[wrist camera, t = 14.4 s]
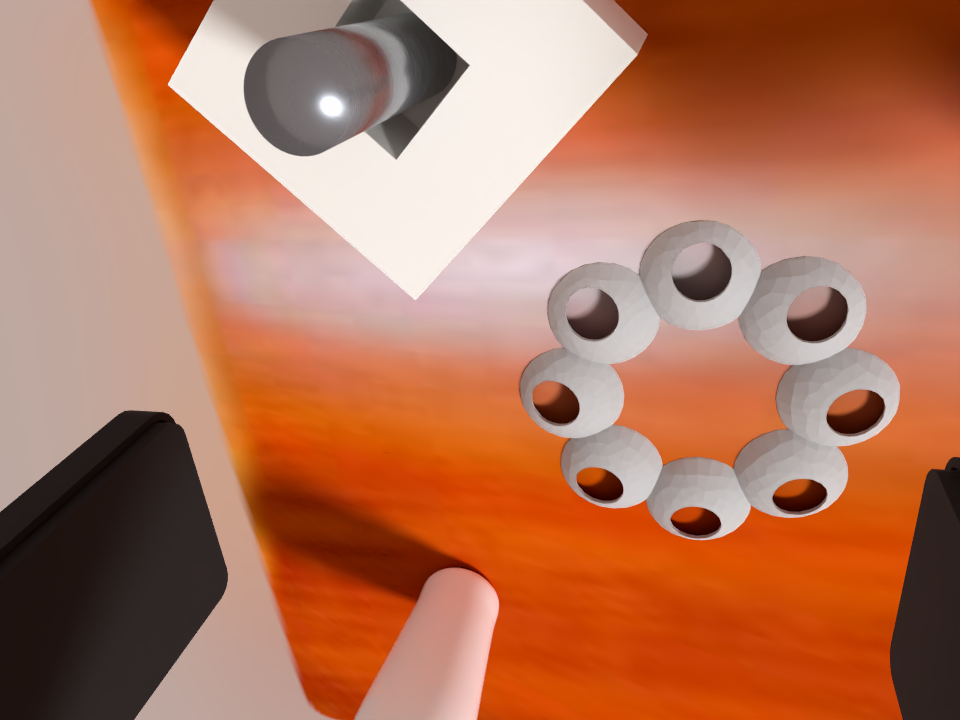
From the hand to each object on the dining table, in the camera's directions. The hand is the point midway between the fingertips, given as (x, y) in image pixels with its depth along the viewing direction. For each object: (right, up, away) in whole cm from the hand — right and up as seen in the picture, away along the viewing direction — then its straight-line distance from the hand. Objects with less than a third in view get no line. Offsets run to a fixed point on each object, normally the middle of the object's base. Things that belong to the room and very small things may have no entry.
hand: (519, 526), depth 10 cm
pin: (-3, +16, +25) cm, 30 cm away
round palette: (+11, 0, +33) cm, 35 cm away
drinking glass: (-2, -14, +44) cm, 46 cm away
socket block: (-3, +17, +27) cm, 32 cm away
